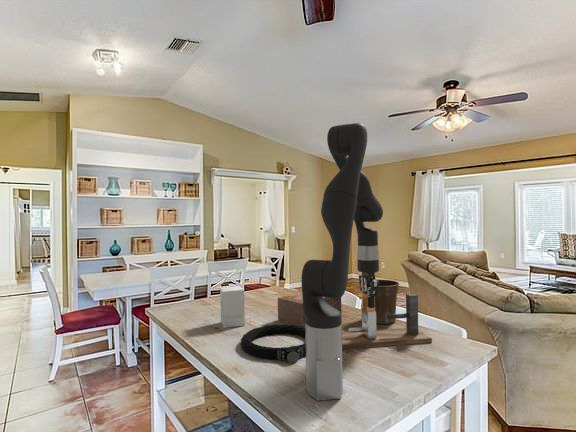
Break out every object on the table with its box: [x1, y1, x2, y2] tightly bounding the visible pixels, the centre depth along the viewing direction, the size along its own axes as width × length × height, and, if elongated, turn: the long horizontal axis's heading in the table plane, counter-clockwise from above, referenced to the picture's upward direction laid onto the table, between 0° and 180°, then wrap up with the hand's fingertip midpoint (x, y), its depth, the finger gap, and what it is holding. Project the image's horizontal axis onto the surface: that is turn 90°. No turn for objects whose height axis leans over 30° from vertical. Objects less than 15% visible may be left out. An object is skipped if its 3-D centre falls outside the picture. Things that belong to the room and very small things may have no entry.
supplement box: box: [219, 285, 246, 329], centre depth 145 cm, size 9×9×15 cm
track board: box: [342, 293, 433, 350], centre depth 124 cm, size 12×34×16 cm, turn 98°
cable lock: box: [240, 323, 306, 364], centre depth 120 cm, size 28×4×30 cm
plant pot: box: [375, 279, 400, 325], centre depth 147 cm, size 16×16×16 cm
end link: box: [347, 293, 377, 339], centre depth 123 cm, size 6×9×15 cm, turn 98°
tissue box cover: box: [277, 291, 342, 327], centre depth 153 cm, size 26×14×10 cm, turn 134°
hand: (368, 305), depth 123 cm, fingers closed on end link, 4 cm apart
